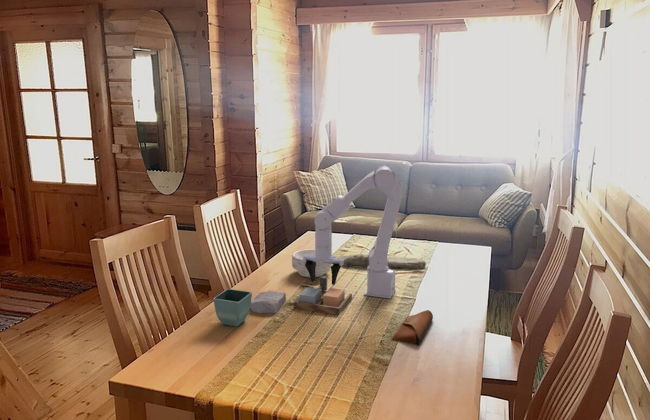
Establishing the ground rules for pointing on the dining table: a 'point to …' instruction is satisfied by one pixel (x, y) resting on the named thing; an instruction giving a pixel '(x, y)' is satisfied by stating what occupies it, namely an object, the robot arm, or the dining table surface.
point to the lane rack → (322, 306)
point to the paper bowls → (300, 264)
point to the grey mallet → (314, 292)
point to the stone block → (268, 302)
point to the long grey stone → (392, 261)
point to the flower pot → (232, 306)
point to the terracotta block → (334, 297)
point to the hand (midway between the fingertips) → (323, 282)
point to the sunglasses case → (413, 328)
